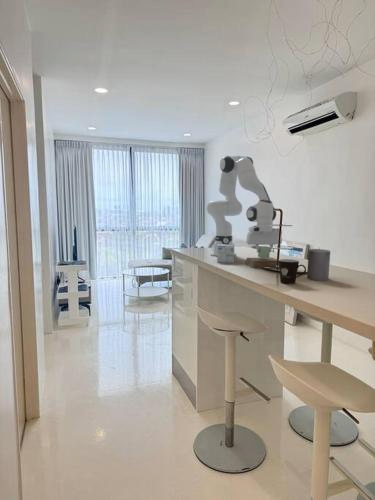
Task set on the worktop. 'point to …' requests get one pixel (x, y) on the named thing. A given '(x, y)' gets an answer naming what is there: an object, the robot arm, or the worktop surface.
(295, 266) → the coffee mug
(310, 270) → the pillar candle
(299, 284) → the worktop surface
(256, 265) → the walnut plinth
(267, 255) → the sage block
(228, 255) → the light bulb box
